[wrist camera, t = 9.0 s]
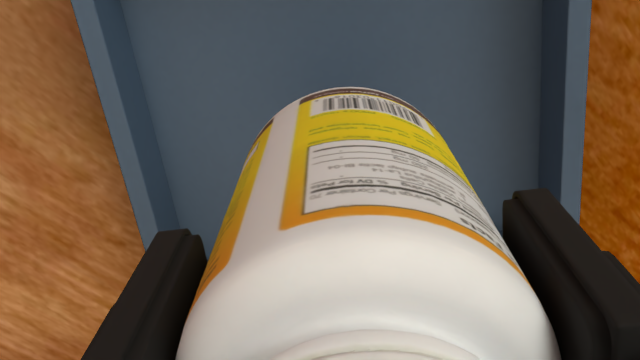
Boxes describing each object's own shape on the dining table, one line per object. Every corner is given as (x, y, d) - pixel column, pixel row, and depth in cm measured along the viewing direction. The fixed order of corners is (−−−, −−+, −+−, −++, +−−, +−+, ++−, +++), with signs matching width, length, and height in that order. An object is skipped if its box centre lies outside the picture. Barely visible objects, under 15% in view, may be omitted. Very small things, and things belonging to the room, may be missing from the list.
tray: (563, -152, 20) (602, -167, 17) (550, 234, 26) (577, 269, 23) (83, -79, 21) (45, -82, 18) (179, 273, 27) (162, 312, 24)
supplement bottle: (307, 297, 17) (278, 762, 7) (206, 140, 15) (-13, 499, 5) (483, 219, 15) (719, 652, 6) (398, 39, 14) (552, 266, 4)
